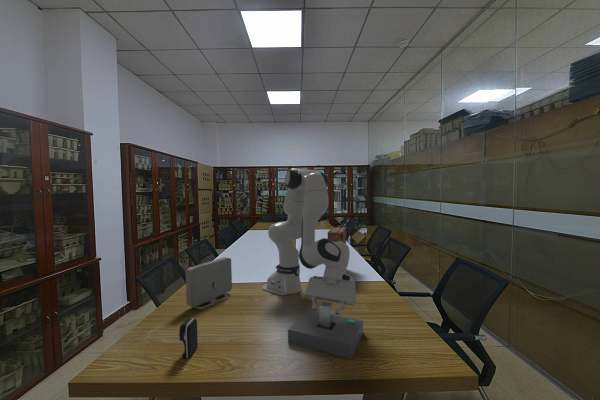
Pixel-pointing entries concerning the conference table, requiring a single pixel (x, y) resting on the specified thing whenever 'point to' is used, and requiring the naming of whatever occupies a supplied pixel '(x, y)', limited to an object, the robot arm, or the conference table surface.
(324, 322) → the peg
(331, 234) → the book
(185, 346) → the battery charger
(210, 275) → the network device
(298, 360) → the conference table surface
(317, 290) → the robot arm
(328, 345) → the docking mount
